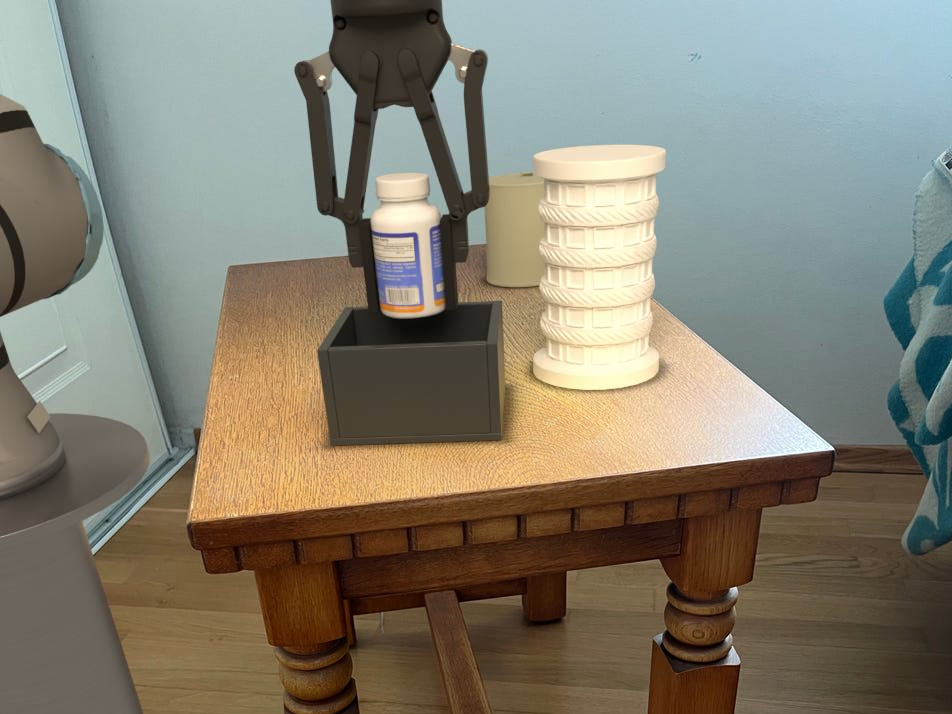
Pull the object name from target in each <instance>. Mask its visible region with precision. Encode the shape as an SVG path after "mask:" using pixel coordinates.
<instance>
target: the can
mask: <svg viewBox="0 0 952 714" xmlns="http://www.w3.org/2000/svg"><path fill="white" fill-rule="evenodd" d="M489 187H490V197H489V201H488V203H487V205H486V206H485V207H484V223H485V224H484V225H485V226H484V227H485V244H486V245H485V246H486V278H485V279H486V282H487V283H488V284H490V285H493V286H496V287H502V288H531V287H540V282H541V278H542V276H544V275H545V262H544V261H543V260H542V259H541V258H540V252H539V245H540V241H541V238H543V237H544V236H545V229H544V221H542V220H541V219H540V215H539V211H538V206H539V202H540V199H541V198H543V197H544V178H541V177H538V176H536V175H535V174H534V172H533V171H520V173H519V172H517V173H505V174H499V175H494V176H489Z"/></svg>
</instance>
